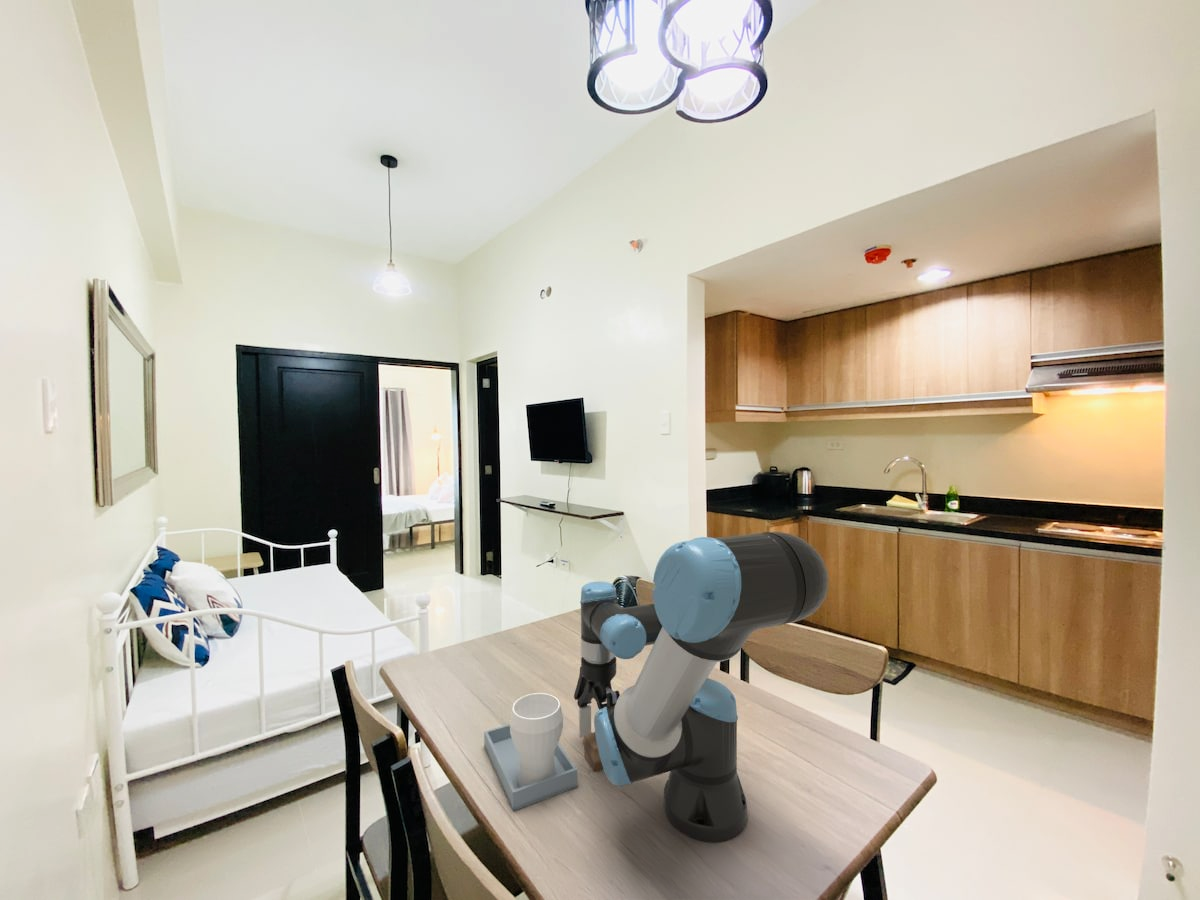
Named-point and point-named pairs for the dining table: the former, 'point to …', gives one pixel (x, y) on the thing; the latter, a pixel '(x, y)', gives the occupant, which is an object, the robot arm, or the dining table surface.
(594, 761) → the walnut cube
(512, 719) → the cup
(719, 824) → the robot arm
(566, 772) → the tray
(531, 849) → the dining table surface
